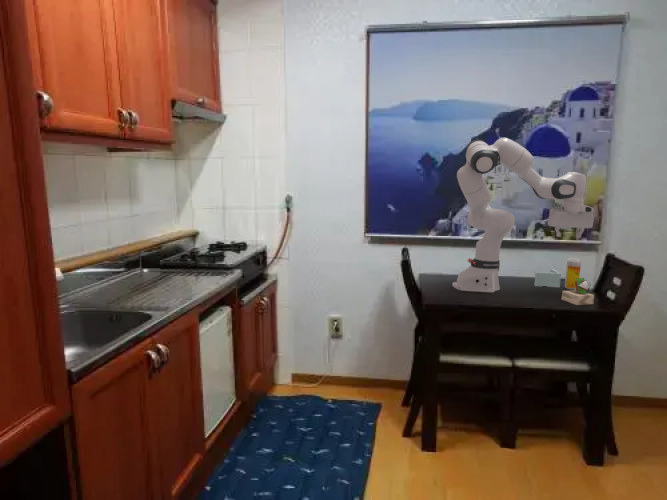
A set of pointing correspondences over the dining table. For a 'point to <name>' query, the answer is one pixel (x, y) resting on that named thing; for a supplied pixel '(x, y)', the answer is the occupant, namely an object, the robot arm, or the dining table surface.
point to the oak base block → (577, 297)
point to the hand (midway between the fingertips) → (568, 237)
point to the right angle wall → (548, 279)
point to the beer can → (572, 273)
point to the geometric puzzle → (581, 285)
